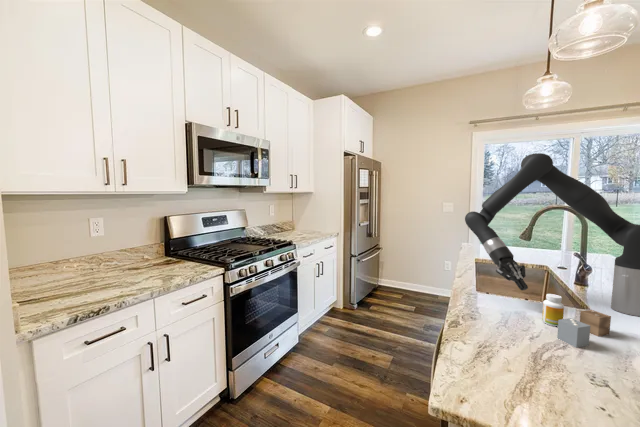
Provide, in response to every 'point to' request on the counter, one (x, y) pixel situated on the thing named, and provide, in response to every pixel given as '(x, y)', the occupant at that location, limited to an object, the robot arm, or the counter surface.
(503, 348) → the counter surface
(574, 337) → the slate three pip block
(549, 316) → the supplement bottle
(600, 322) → the walnut two pip block
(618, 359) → the counter surface
